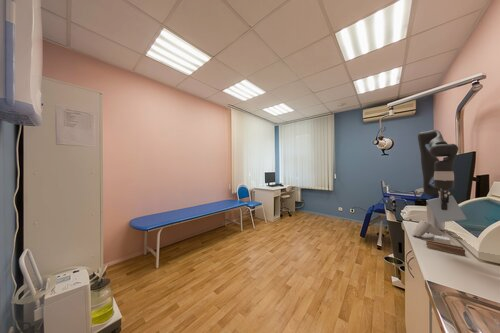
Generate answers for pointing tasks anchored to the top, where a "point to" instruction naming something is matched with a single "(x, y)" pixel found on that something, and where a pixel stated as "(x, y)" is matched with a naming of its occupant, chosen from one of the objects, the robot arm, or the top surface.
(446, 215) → the slate sheet
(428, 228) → the infrared thermometer
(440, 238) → the offcut top
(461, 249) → the slot rack
